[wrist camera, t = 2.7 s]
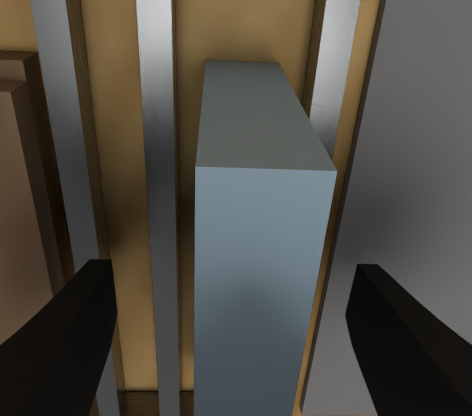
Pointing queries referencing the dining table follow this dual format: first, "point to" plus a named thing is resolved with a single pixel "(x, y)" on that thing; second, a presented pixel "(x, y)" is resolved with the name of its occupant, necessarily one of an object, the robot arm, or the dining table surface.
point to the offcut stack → (28, 198)
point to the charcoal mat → (402, 189)
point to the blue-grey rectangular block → (255, 239)
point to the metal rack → (156, 163)
